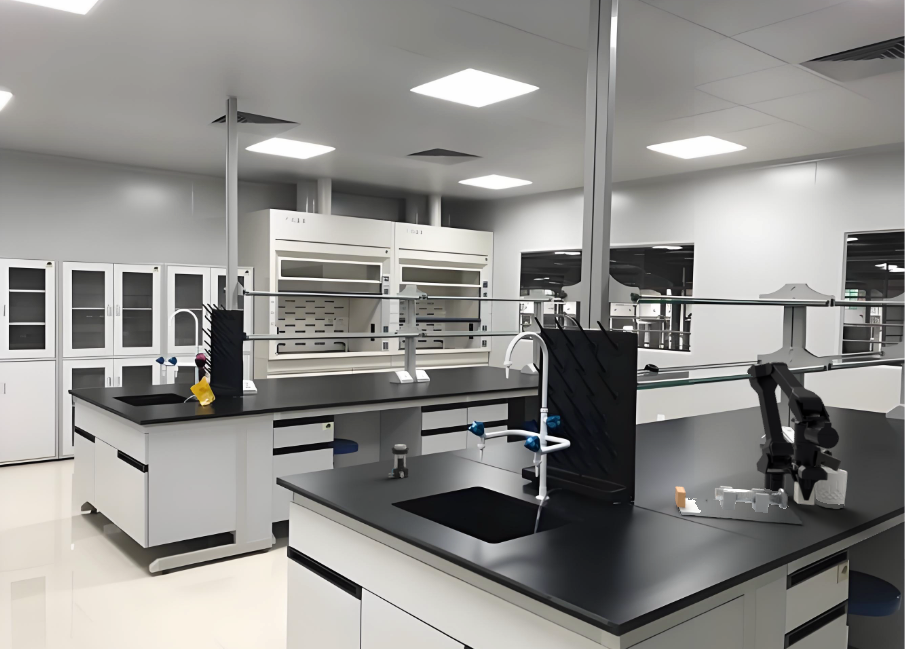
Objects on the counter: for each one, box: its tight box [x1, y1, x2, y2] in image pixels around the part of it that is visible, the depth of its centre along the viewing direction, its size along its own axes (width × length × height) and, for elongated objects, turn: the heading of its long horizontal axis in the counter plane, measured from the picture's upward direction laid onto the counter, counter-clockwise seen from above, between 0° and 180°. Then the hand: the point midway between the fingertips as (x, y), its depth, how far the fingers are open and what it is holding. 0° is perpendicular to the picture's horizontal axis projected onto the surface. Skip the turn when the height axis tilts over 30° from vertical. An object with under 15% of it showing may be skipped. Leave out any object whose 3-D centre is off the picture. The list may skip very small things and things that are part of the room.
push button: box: [388, 443, 410, 479], centre depth 208 cm, size 7×5×10 cm
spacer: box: [793, 481, 816, 506], centre depth 182 cm, size 4×4×5 cm
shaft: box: [714, 487, 789, 509], centre depth 177 cm, size 5×17×5 cm, turn 77°
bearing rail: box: [674, 485, 770, 513], centre depth 178 cm, size 14×30×6 cm, turn 77°
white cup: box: [814, 466, 848, 505], centre depth 185 cm, size 8×8×10 cm
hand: (804, 498), depth 182 cm, fingers closed on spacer, 4 cm apart
